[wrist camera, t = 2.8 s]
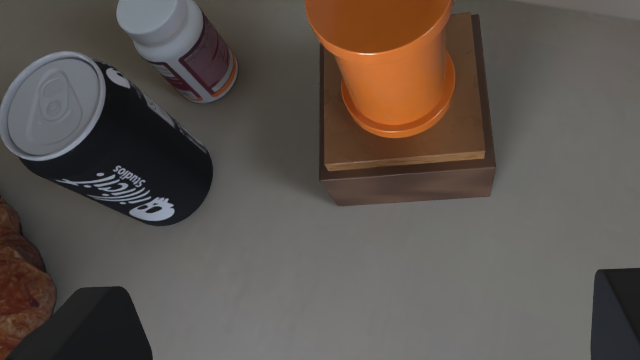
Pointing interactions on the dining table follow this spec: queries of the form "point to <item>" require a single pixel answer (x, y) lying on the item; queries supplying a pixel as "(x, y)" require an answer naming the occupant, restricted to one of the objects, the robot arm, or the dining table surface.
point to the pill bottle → (180, 46)
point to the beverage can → (104, 139)
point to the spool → (389, 60)
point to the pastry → (21, 284)
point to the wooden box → (412, 137)
